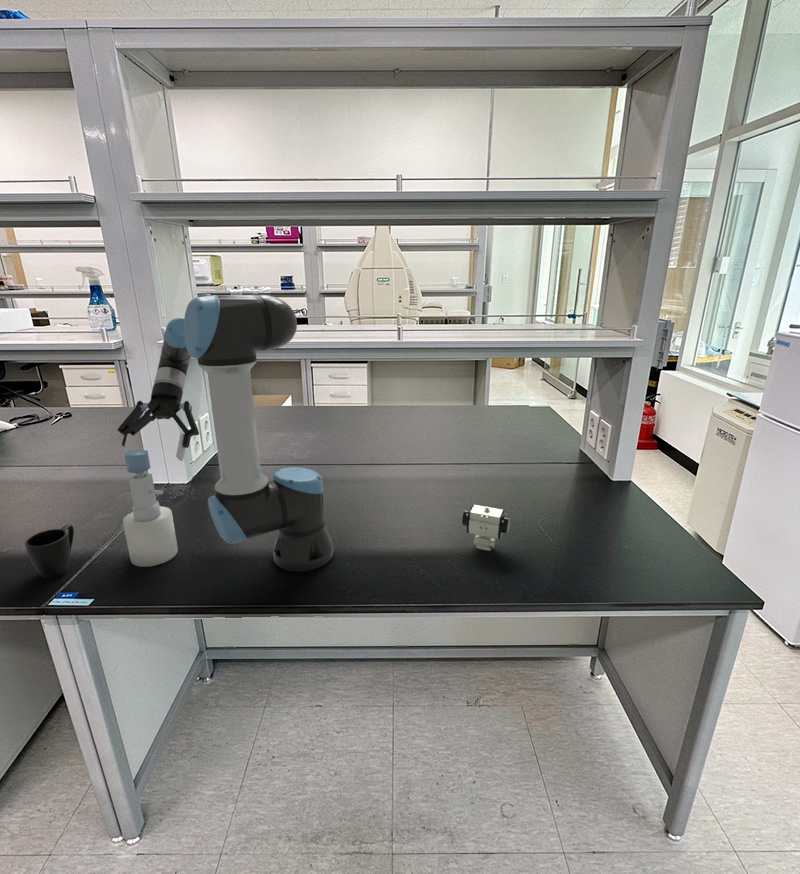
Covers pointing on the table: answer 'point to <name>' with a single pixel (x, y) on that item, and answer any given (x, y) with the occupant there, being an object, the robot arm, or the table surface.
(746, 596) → the table surface
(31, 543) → the mug
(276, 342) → the robot arm
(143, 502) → the bottle
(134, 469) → the plunger
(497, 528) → the pneumatic valve
